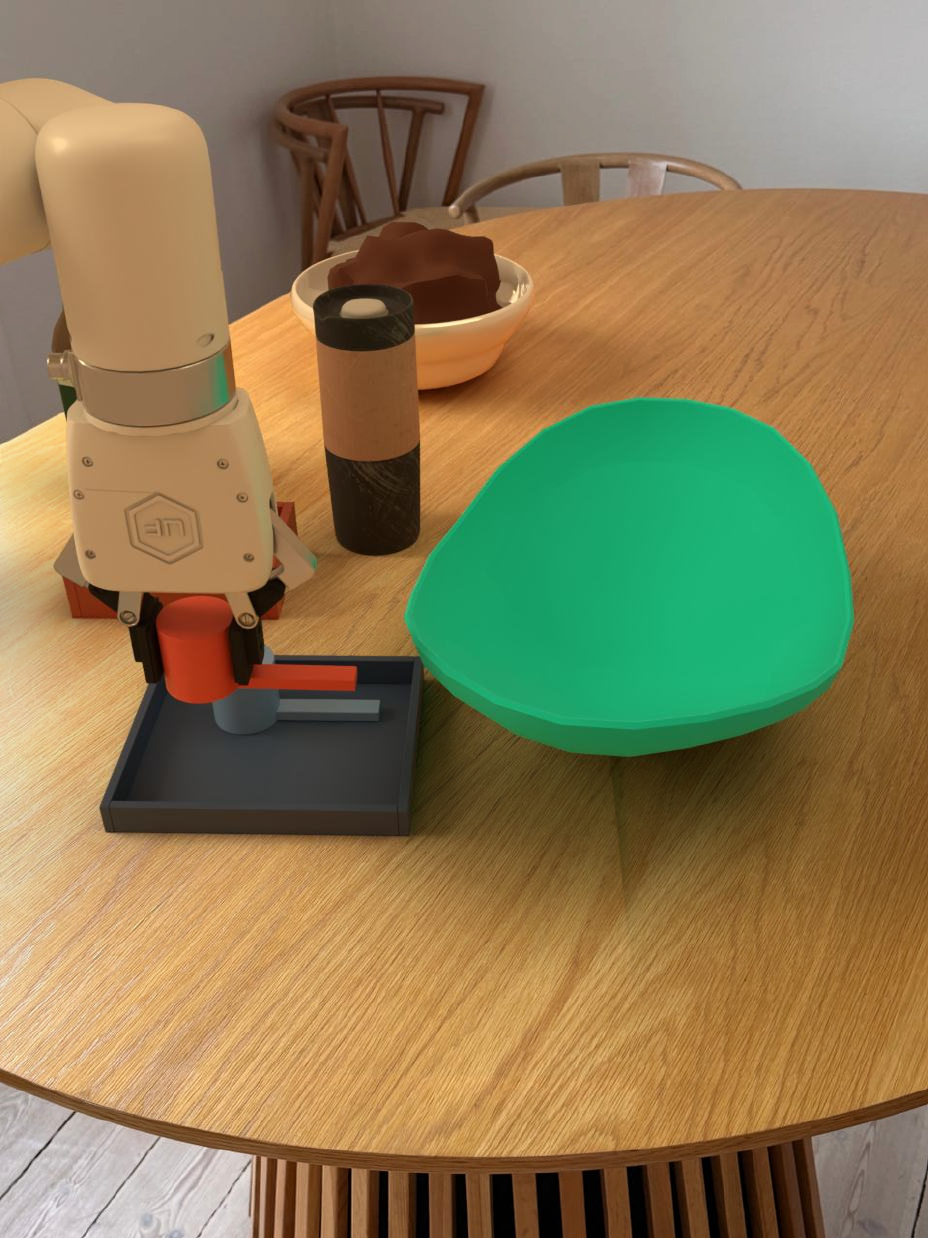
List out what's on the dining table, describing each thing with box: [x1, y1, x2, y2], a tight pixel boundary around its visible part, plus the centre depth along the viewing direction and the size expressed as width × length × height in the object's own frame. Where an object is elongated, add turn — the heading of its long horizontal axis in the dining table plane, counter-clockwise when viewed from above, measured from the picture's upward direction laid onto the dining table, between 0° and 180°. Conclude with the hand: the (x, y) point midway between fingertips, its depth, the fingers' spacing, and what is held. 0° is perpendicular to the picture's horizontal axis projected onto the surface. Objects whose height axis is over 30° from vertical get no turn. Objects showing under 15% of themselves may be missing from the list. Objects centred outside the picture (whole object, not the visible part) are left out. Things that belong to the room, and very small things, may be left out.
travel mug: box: [313, 284, 421, 556], centre depth 96 cm, size 8×8×20 cm
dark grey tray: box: [98, 654, 425, 838], centre depth 78 cm, size 18×15×2 cm
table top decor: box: [403, 396, 855, 758], centre depth 79 cm, size 40×28×13 cm
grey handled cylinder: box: [212, 644, 381, 735], centre depth 80 cm, size 11×4×4 cm, turn 88°
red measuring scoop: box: [155, 596, 357, 704], centre depth 70 cm, size 11×4×4 cm, turn 88°
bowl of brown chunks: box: [289, 221, 536, 391], centre depth 125 cm, size 25×25×15 cm
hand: (202, 667), depth 70 cm, fingers closed on red measuring scoop, 4 cm apart
